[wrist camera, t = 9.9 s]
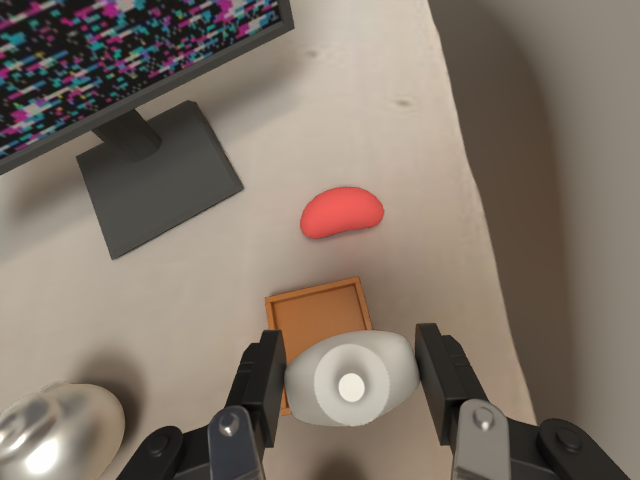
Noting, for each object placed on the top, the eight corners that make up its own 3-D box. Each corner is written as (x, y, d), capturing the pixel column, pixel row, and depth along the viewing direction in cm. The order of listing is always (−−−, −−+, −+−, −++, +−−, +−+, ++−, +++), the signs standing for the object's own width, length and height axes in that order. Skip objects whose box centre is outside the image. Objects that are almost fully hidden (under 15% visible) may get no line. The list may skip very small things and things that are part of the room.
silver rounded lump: (139, 362, 34) (58, 366, 24) (149, 461, 30) (60, 510, 21) (59, 389, 34) (-54, 404, 24) (60, 492, 30) (-70, 555, 21)
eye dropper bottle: (316, 322, 21) (276, 285, 10) (401, 344, 20) (468, 331, 9) (298, 393, 19) (228, 445, 8) (389, 420, 18) (449, 522, 7)
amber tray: (387, 389, 31) (389, 392, 29) (285, 412, 31) (281, 416, 29) (358, 280, 35) (358, 275, 33) (268, 300, 35) (264, 297, 33)
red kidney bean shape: (313, 198, 40) (287, 195, 34) (382, 182, 36) (366, 175, 30) (319, 238, 40) (295, 242, 34) (389, 226, 36) (375, 228, 30)
